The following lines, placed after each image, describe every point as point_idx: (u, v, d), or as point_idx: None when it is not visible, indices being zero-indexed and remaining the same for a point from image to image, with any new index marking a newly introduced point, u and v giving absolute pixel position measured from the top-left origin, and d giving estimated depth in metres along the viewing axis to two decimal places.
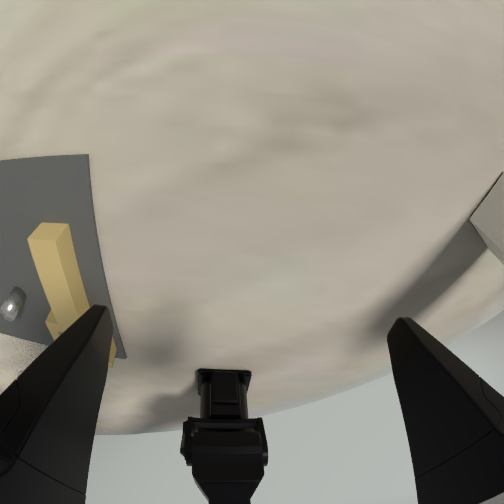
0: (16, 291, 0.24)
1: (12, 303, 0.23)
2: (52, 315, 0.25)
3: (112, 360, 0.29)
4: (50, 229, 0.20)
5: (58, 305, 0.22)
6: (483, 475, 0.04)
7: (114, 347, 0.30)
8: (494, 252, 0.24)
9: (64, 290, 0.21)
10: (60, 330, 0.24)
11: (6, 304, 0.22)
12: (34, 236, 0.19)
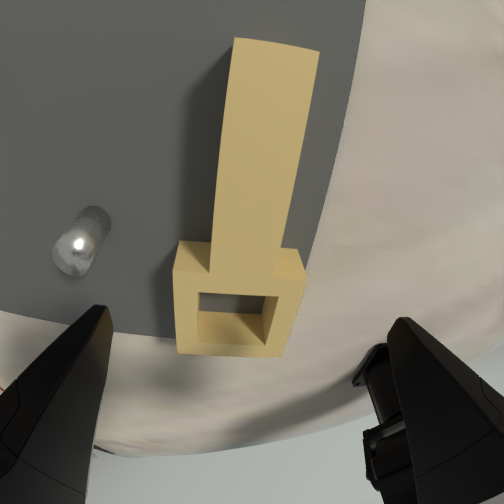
0: (93, 213, 0.13)
1: (87, 233, 0.12)
2: (186, 258, 0.14)
3: None
4: None
5: (238, 220, 0.12)
6: (483, 475, 0.04)
7: None
8: None
9: (282, 175, 0.11)
10: (207, 288, 0.14)
11: (73, 233, 0.11)
12: None
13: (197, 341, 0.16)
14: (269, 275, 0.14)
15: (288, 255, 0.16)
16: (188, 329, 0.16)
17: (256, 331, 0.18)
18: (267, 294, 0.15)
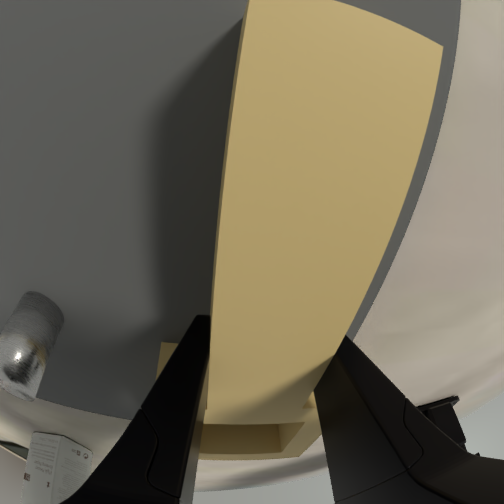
0: (34, 306, 0.08)
1: (24, 348, 0.07)
2: None
3: None
4: None
5: (254, 361, 0.07)
6: None
7: None
8: None
9: (341, 298, 0.06)
10: (205, 420, 0.09)
11: (4, 352, 0.06)
12: None
13: None
14: (295, 406, 0.09)
15: None
16: None
17: (269, 433, 0.12)
18: (290, 421, 0.09)
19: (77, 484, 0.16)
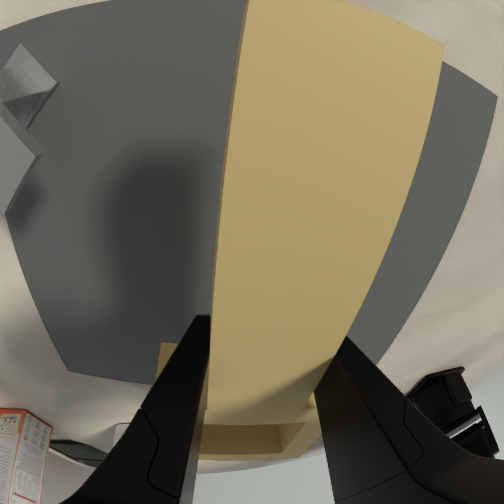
0: None
1: None
2: None
3: None
4: None
5: (255, 361, 0.07)
6: None
7: None
8: None
9: (342, 298, 0.06)
10: (205, 421, 0.09)
11: None
12: None
13: None
14: (295, 407, 0.08)
15: None
16: None
17: (270, 433, 0.12)
18: (290, 422, 0.09)
19: None
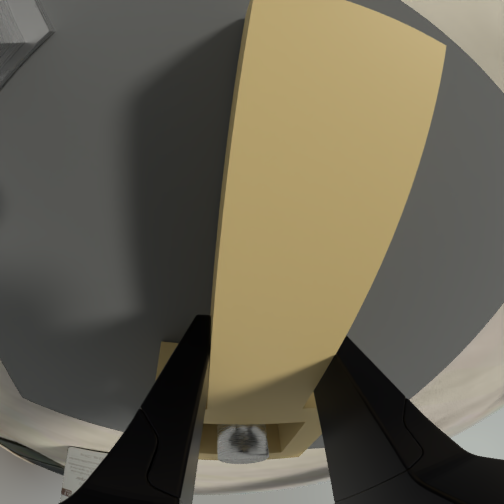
0: None
1: (263, 429, 0.10)
2: None
3: None
4: None
5: (255, 361, 0.07)
6: None
7: None
8: None
9: (343, 297, 0.06)
10: (205, 420, 0.09)
11: (254, 438, 0.09)
12: None
13: None
14: (296, 406, 0.08)
15: None
16: None
17: (269, 433, 0.12)
18: (290, 421, 0.09)
19: None
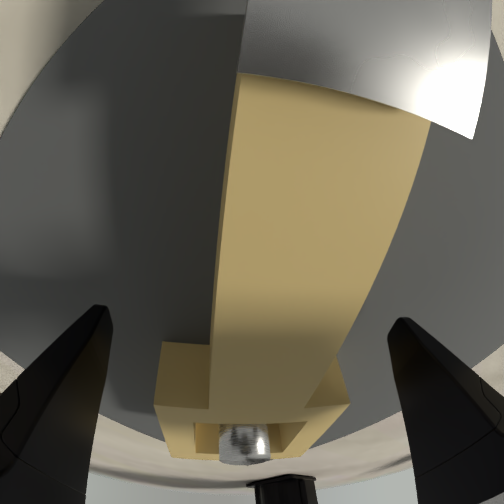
0: None
1: (267, 435, 0.10)
2: (173, 379, 0.09)
3: None
4: None
5: (256, 360, 0.07)
6: (483, 475, 0.04)
7: None
8: None
9: (344, 296, 0.06)
10: (206, 420, 0.09)
11: (266, 442, 0.10)
12: None
13: (196, 451, 0.11)
14: (297, 405, 0.08)
15: None
16: (183, 445, 0.10)
17: (270, 433, 0.12)
18: (292, 421, 0.09)
19: None
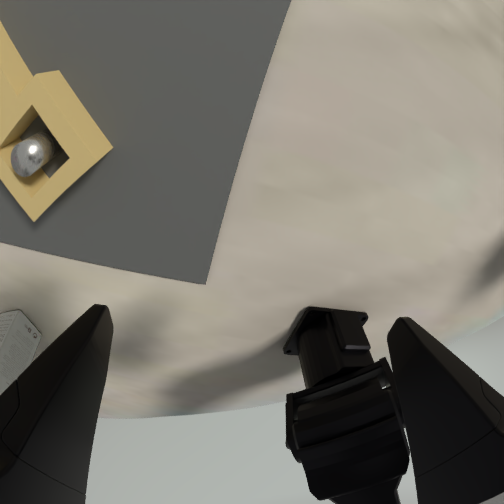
0: None
1: (41, 141, 0.12)
2: None
3: (98, 152, 0.14)
4: None
5: None
6: (483, 475, 0.04)
7: (103, 138, 0.14)
8: None
9: None
10: None
11: (30, 139, 0.11)
12: None
13: (32, 196, 0.14)
14: (16, 97, 0.10)
15: None
16: (17, 188, 0.13)
17: None
18: (24, 110, 0.11)
19: (21, 357, 0.21)
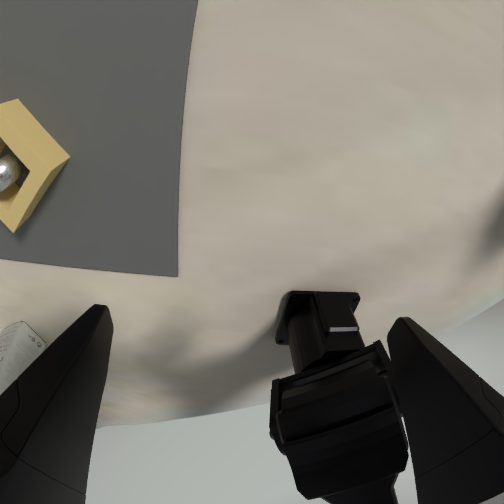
0: None
1: (8, 161, 0.13)
2: None
3: (53, 162, 0.14)
4: None
5: None
6: (483, 475, 0.04)
7: (60, 150, 0.15)
8: None
9: None
10: None
11: None
12: None
13: (8, 210, 0.15)
14: None
15: None
16: None
17: None
18: None
19: (26, 365, 0.22)
